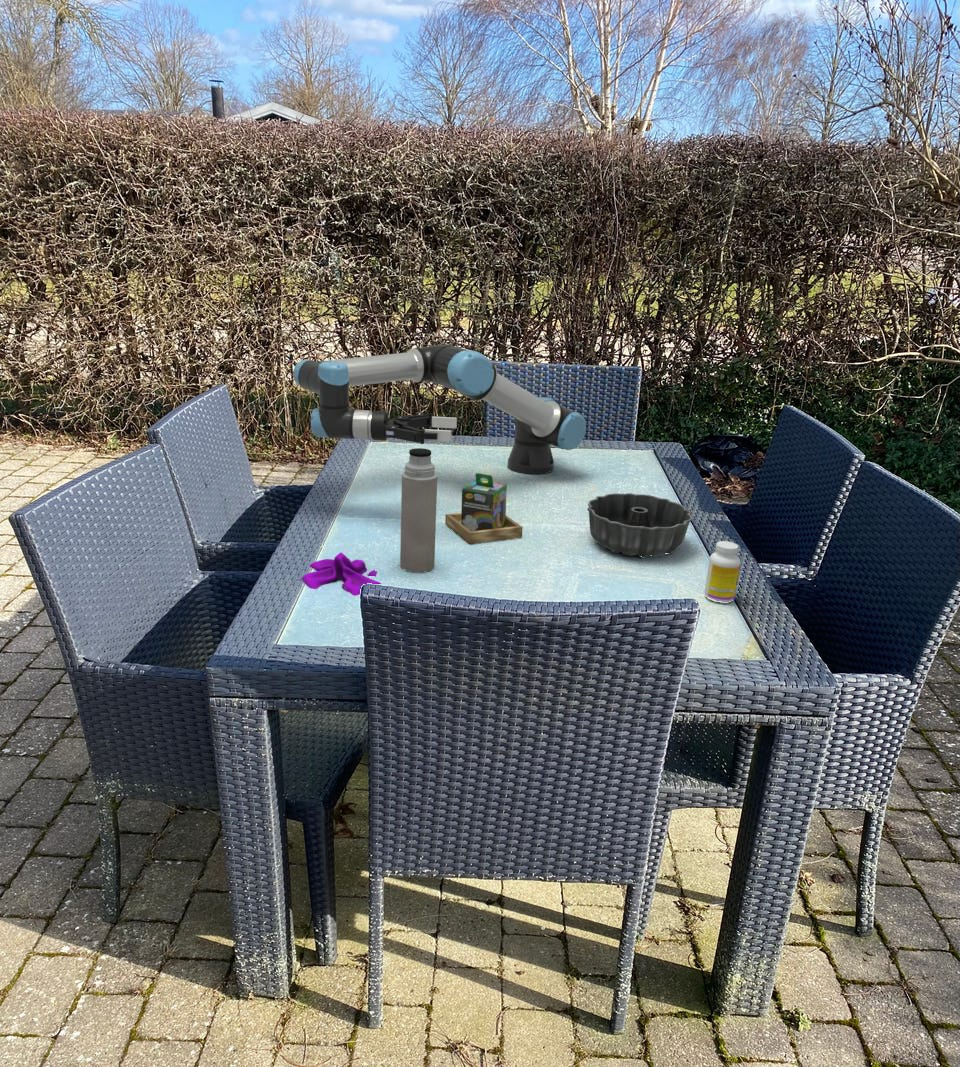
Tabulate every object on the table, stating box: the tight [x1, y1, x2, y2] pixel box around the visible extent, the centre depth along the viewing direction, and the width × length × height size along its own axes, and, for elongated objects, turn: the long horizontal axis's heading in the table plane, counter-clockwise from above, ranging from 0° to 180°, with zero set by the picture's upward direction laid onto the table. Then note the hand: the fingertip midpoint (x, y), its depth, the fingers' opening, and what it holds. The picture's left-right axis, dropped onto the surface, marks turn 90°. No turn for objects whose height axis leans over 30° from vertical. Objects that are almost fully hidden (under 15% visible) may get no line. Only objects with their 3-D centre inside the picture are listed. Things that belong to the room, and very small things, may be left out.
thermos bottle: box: [399, 447, 438, 573], centre depth 203 cm, size 8×8×28 cm
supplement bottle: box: [704, 540, 741, 602], centre depth 197 cm, size 7×7×13 cm
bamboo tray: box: [444, 512, 524, 545], centre depth 232 cm, size 15×15×3 cm
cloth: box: [301, 552, 382, 596], centre depth 201 cm, size 22×19×6 cm
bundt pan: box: [586, 492, 693, 558], centre depth 227 cm, size 26×26×10 cm
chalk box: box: [460, 472, 508, 531], centre depth 230 cm, size 9×9×15 cm
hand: (454, 429), depth 229 cm, fingers open, 13 cm apart
